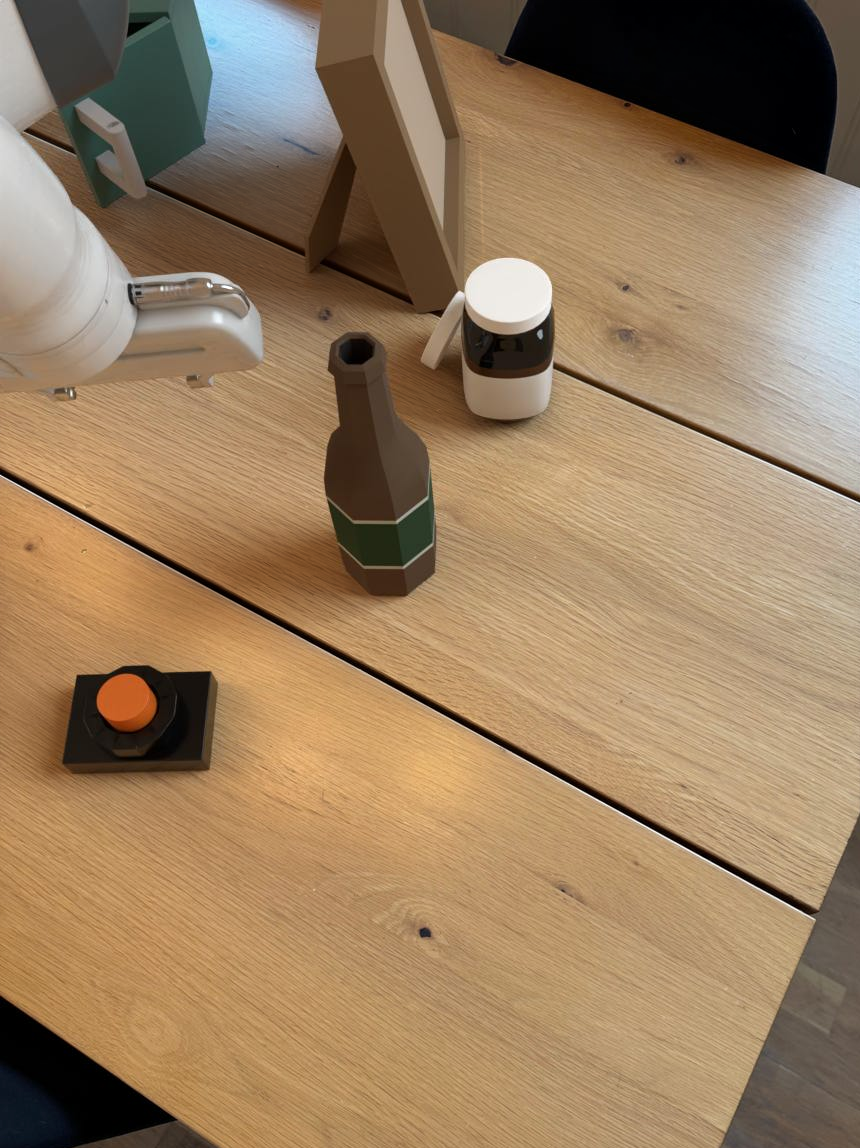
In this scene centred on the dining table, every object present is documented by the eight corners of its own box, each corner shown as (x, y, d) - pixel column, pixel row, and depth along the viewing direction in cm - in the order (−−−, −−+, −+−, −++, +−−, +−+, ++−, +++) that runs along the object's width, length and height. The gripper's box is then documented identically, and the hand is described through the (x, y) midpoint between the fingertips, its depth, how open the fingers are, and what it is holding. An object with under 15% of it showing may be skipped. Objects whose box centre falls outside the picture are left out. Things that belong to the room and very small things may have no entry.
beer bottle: (421, 506, 86) (395, 286, 65) (454, 582, 83) (438, 377, 62) (331, 536, 85) (274, 322, 64) (361, 614, 82) (312, 416, 61)
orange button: (103, 732, 74) (93, 721, 72) (110, 686, 76) (100, 674, 74) (154, 731, 74) (145, 720, 72) (160, 684, 76) (151, 672, 74)
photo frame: (465, 150, 106) (457, -123, 83) (463, 313, 96) (453, 53, 74) (318, 152, 106) (270, -120, 84) (301, 315, 96) (242, 55, 74)
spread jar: (553, 434, 90) (560, 337, 79) (420, 436, 90) (410, 340, 79) (548, 327, 95) (554, 224, 85) (423, 329, 95) (414, 226, 85)
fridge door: (242, 169, 105) (211, 47, 93) (138, 237, 101) (93, 119, 89) (199, 138, 107) (164, 15, 96) (96, 203, 103) (46, 84, 92)
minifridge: (204, 136, 107) (168, 11, 96) (77, 140, 107) (25, 15, 96) (213, 73, 112) (180, -54, 100) (91, 76, 112) (44, -50, 100)
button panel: (72, 774, 76) (51, 754, 73) (86, 686, 80) (67, 663, 76) (209, 770, 76) (195, 750, 73) (218, 682, 80) (205, 659, 76)
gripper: (232, 225, 58) (282, 325, 72) (-134, 260, 58) (-14, 353, 72) (240, 334, 58) (289, 414, 72) (-130, 370, 58) (-10, 442, 72)
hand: (134, 383), depth 72 cm, fingers open, 8 cm apart
